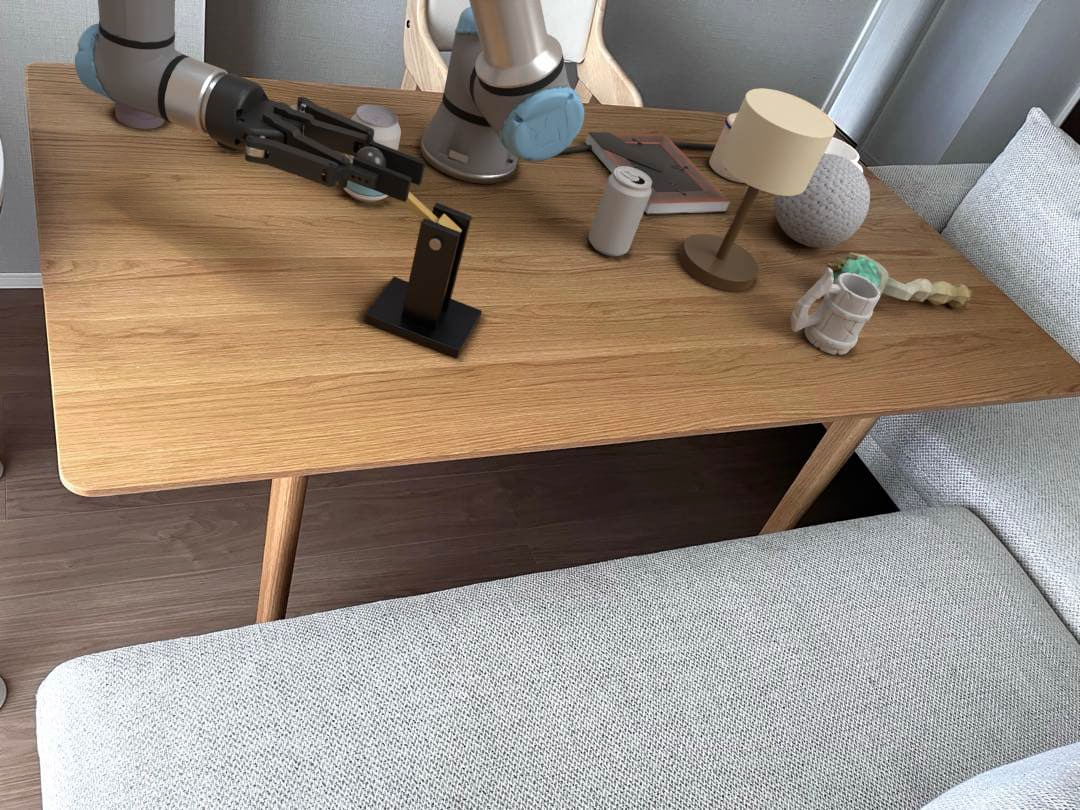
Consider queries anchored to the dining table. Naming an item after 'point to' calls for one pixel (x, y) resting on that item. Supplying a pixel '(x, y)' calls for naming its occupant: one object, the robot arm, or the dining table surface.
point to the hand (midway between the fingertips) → (415, 181)
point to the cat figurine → (136, 117)
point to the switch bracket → (430, 290)
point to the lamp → (759, 176)
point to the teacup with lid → (715, 157)
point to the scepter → (890, 287)
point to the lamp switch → (412, 202)
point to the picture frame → (660, 172)
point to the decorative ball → (826, 204)
